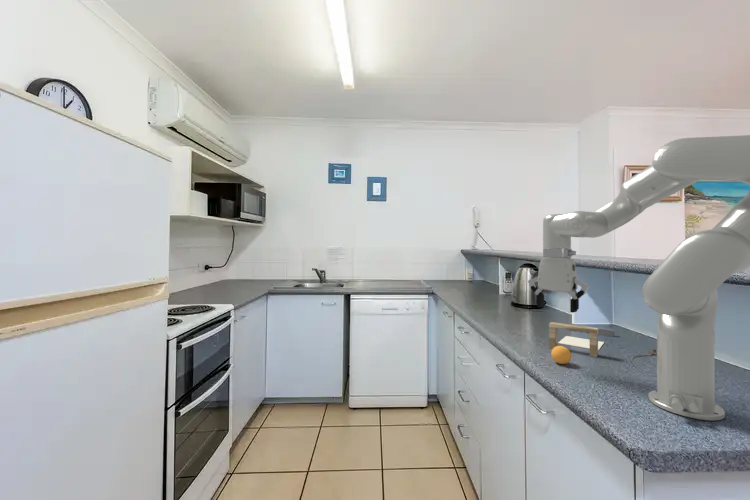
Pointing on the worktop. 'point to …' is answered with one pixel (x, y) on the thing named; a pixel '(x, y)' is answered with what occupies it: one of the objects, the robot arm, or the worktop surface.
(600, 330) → the wall
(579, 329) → the bridge
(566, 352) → the ball
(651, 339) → the worktop surface
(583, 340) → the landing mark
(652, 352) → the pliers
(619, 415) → the worktop surface
